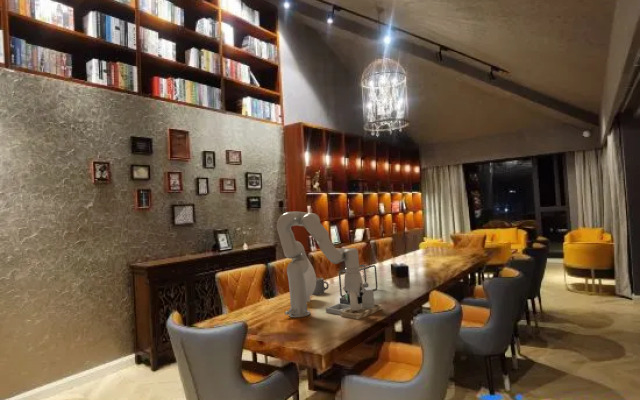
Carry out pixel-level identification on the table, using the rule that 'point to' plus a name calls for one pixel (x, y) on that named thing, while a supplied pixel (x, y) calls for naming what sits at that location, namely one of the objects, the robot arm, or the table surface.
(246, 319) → the table surface
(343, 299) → the grey square holder
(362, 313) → the wooden frame with crossbar
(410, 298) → the table surface
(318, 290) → the coffee mug
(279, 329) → the table surface
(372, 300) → the supplement box
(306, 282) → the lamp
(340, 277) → the newton's cradle
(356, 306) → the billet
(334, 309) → the frame
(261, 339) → the table surface
